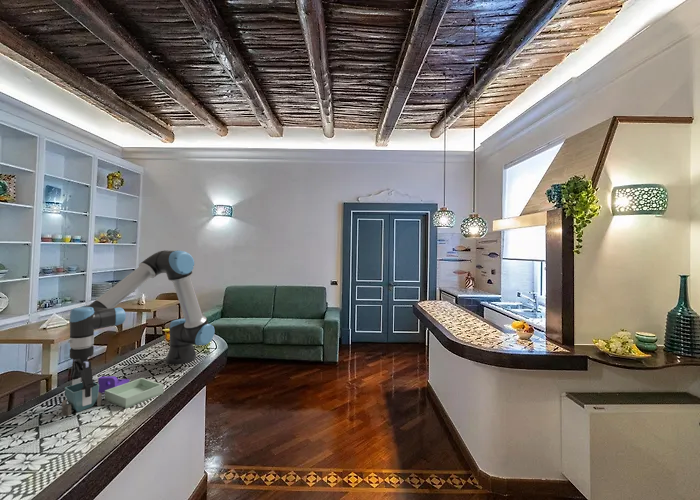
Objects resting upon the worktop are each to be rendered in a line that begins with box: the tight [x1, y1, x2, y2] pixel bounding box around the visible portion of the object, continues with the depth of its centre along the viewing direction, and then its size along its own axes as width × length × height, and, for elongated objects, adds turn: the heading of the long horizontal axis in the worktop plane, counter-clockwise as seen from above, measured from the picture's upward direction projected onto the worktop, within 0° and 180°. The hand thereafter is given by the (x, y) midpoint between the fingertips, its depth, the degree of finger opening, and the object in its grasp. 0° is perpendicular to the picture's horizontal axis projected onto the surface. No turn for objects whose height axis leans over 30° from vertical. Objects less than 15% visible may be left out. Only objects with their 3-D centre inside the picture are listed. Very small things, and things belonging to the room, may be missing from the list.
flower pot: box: [64, 381, 99, 412], centre depth 136 cm, size 9×9×9 cm
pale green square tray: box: [104, 377, 164, 409], centre depth 146 cm, size 16×16×4 cm
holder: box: [61, 392, 103, 417], centre depth 136 cm, size 12×7×4 cm, turn 142°
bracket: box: [97, 375, 131, 394], centre depth 156 cm, size 12×7×7 cm, turn 6°
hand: (81, 399), depth 136 cm, fingers open, 13 cm apart
